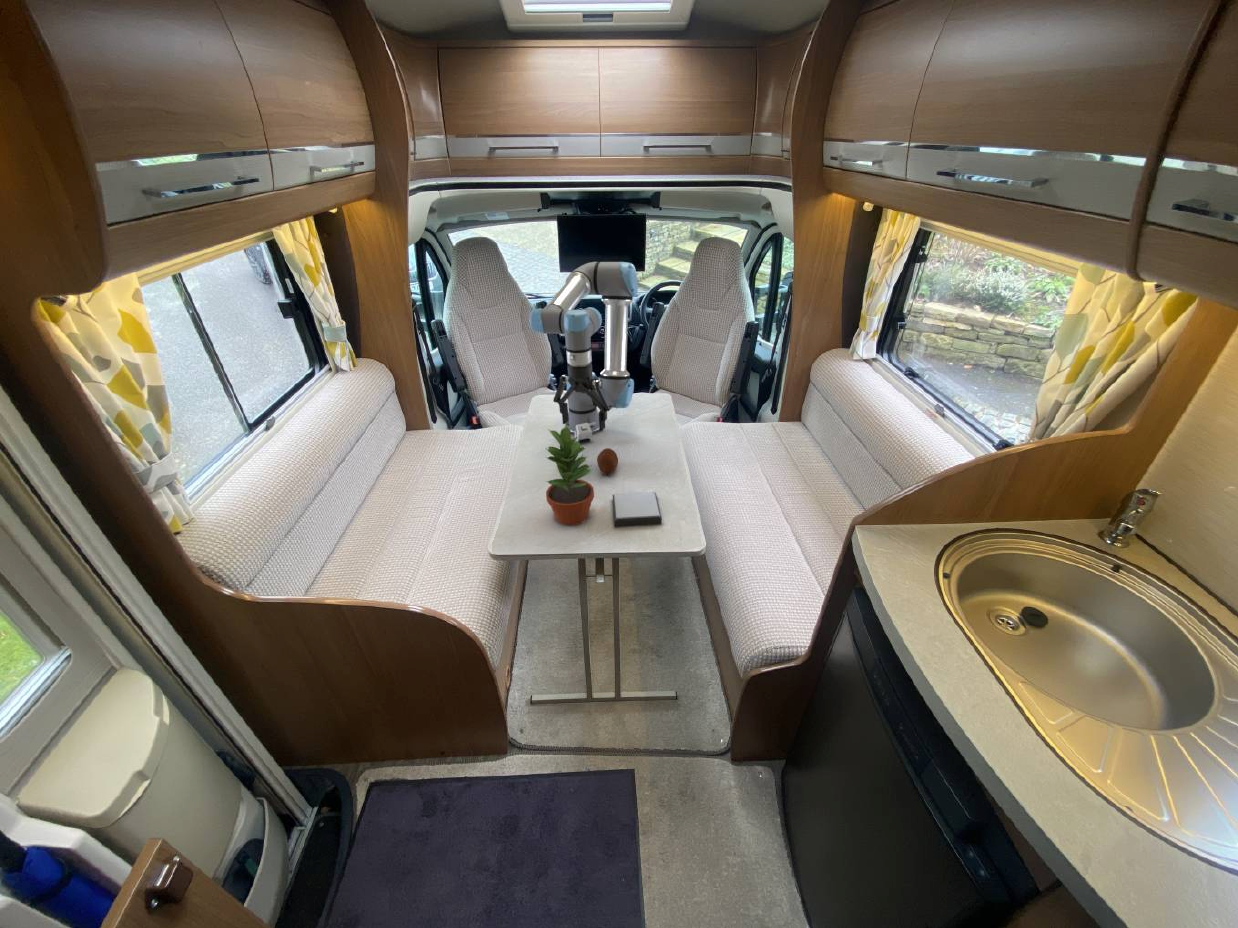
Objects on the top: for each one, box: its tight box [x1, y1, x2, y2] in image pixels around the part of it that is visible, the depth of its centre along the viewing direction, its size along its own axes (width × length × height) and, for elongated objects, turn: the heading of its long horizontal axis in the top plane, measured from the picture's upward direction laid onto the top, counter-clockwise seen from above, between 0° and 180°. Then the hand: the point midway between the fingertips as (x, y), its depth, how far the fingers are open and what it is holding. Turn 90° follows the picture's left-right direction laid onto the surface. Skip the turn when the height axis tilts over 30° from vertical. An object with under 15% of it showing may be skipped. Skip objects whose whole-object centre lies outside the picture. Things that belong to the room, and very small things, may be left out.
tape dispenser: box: [574, 423, 593, 445], centre depth 195 cm, size 6×7×10 cm
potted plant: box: [545, 424, 595, 526], centre depth 147 cm, size 15×15×30 cm
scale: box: [612, 491, 662, 528], centre depth 155 cm, size 14×14×3 cm
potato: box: [596, 447, 619, 477], centre depth 176 cm, size 8×12×8 cm, turn 179°
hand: (583, 425), depth 163 cm, fingers open, 13 cm apart
